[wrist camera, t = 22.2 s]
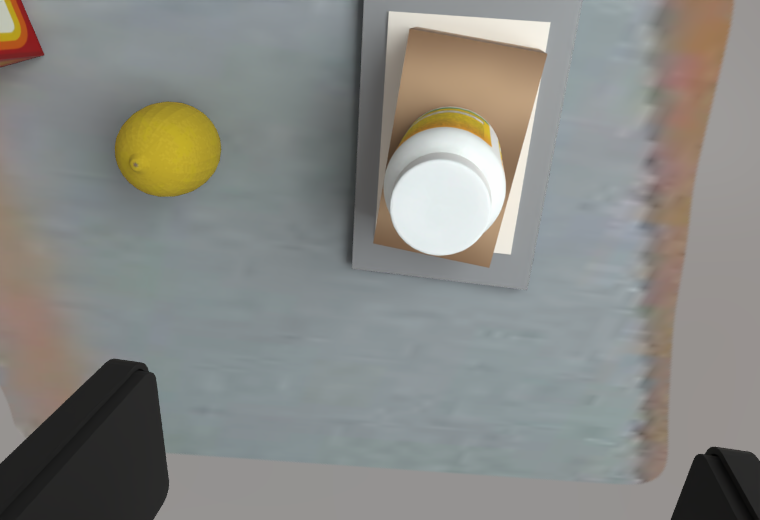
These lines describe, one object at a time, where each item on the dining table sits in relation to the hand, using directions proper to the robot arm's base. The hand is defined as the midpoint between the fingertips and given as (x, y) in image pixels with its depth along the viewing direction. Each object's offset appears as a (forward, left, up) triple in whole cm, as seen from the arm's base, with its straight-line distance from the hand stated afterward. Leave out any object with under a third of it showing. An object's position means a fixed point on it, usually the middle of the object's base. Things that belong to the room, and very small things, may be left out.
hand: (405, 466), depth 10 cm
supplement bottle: (0, 0, -23) cm, 23 cm away
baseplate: (0, 0, -28) cm, 28 cm away
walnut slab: (0, 0, -27) cm, 27 cm away
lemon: (+1, -17, -28) cm, 33 cm away
